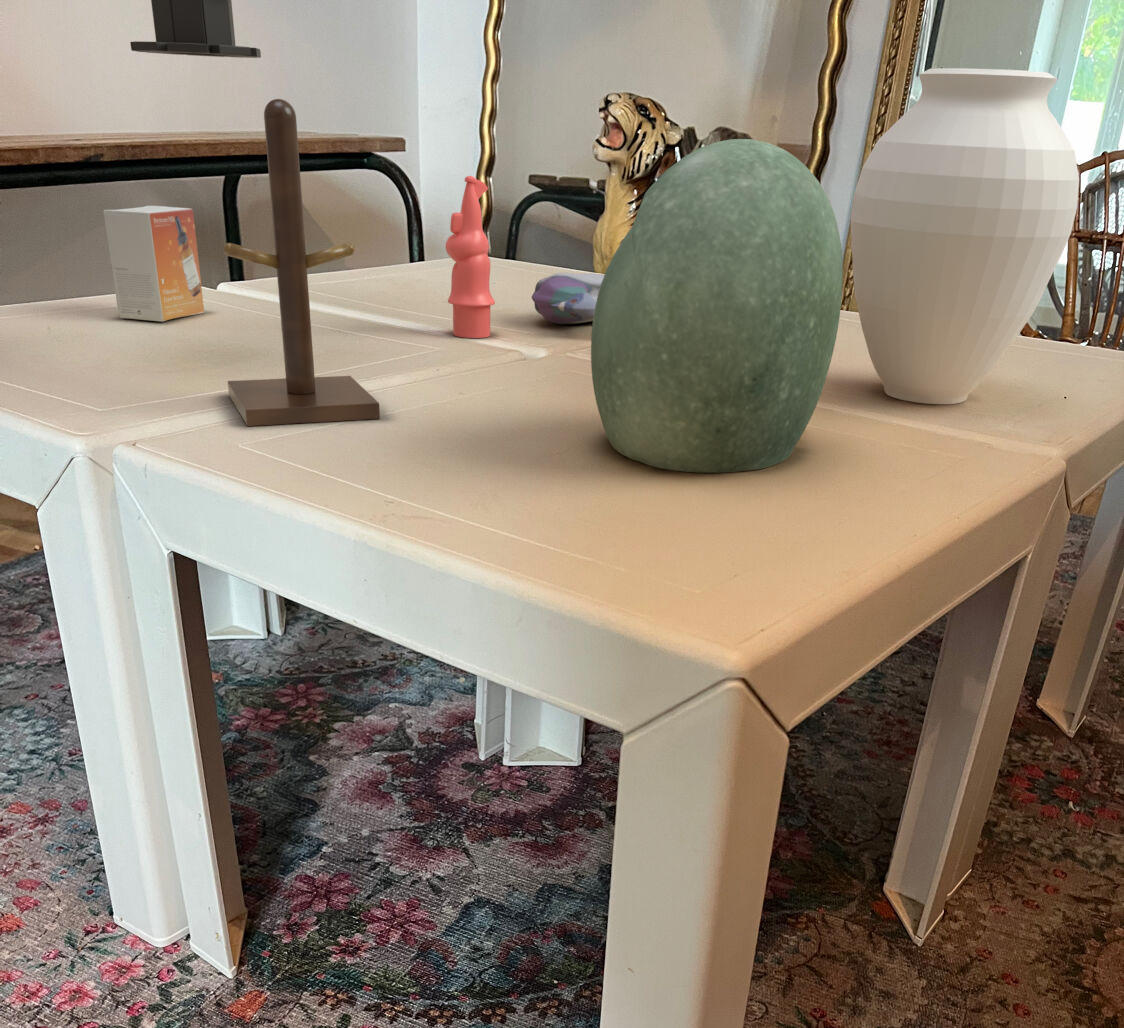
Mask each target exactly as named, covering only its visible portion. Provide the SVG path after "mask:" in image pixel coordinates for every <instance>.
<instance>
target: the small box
mask: <svg viewBox="0 0 1124 1028" xmlns="http://www.w3.org/2000/svg"><path fill="white" fill-rule="evenodd" d="M102 212H103V219H104V225H105V233H106V240H107V245H108V253H109V259H110V266H111V271H112V273H111V274H112V280H113V287H114V293H115V299H116V305H117V312H118V317H119V318H120V319H128V320H140V321H153V322H167V321H169V320H173V319H178V318H182V317H190V316H194V315H200V314H205V306H204V297H203V288H202V287H203V286H202V279H201V278H202V277H201V270H200V262H199V261H200V259H199V253H198V252H199V251H198V243H197V235H196V234H197V233H196V226H195V225H196V223H195V217H194V215H195V214H194V210H193V208H191V207H190V208H188V207H178V206H177V207H176V206H165V205H145V206H139V207H131V208H121V209H104V210H103V211H102Z"/></svg>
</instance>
